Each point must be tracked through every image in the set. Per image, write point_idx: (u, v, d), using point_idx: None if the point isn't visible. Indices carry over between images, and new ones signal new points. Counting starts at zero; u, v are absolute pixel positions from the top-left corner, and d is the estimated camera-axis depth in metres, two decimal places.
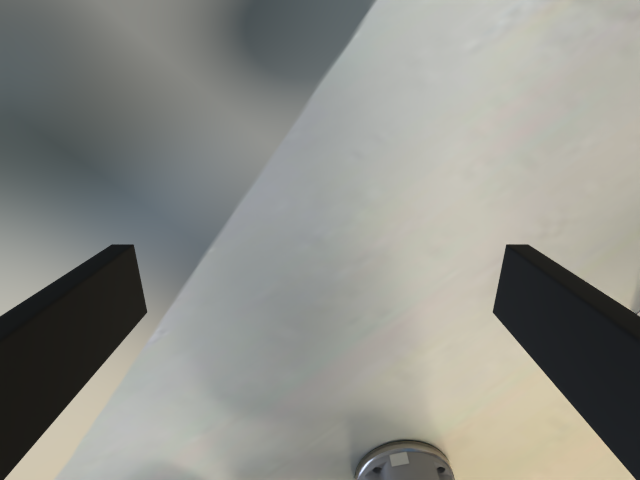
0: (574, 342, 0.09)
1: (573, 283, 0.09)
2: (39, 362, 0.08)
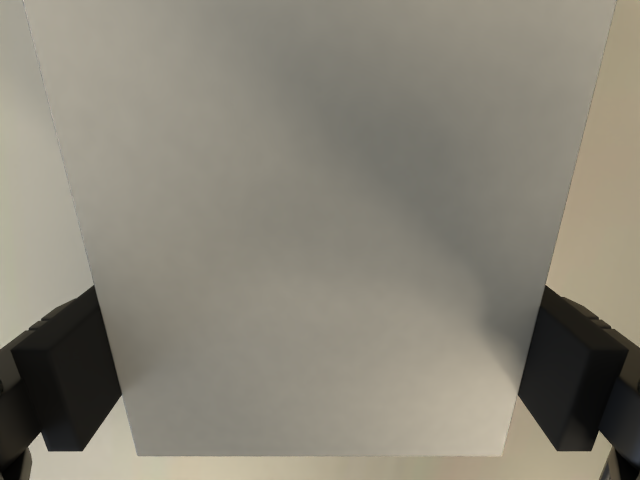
0: None
1: None
2: None
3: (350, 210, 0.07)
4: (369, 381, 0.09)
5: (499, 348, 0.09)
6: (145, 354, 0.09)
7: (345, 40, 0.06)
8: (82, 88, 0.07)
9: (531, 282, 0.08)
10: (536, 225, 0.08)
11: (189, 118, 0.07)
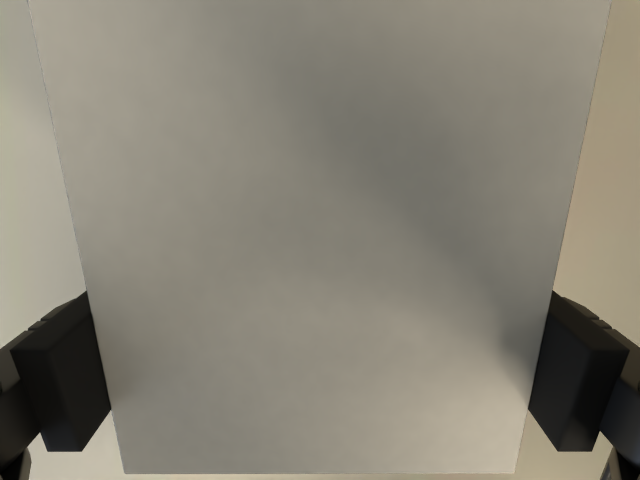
0: None
1: None
2: None
3: (351, 204, 0.07)
4: (371, 389, 0.09)
5: (508, 352, 0.08)
6: (136, 359, 0.08)
7: (345, 32, 0.06)
8: (81, 80, 0.07)
9: (539, 281, 0.08)
10: (542, 220, 0.07)
11: (188, 110, 0.07)
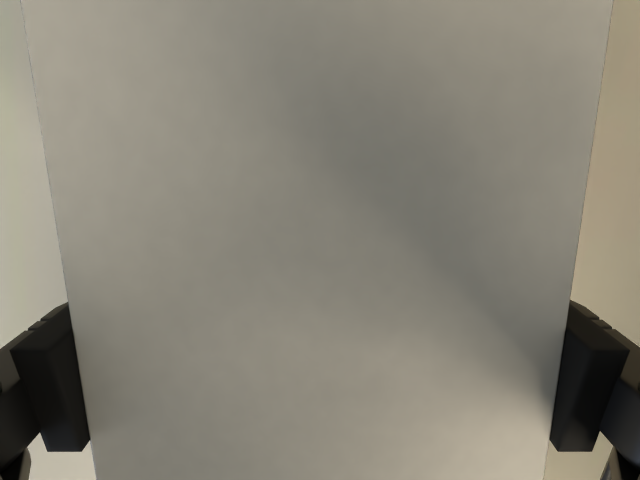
0: None
1: None
2: None
3: (352, 188, 0.07)
4: (377, 398, 0.08)
5: (527, 353, 0.07)
6: (116, 364, 0.07)
7: (344, 6, 0.06)
8: (69, 56, 0.06)
9: (557, 272, 0.07)
10: (557, 204, 0.07)
11: (180, 88, 0.06)
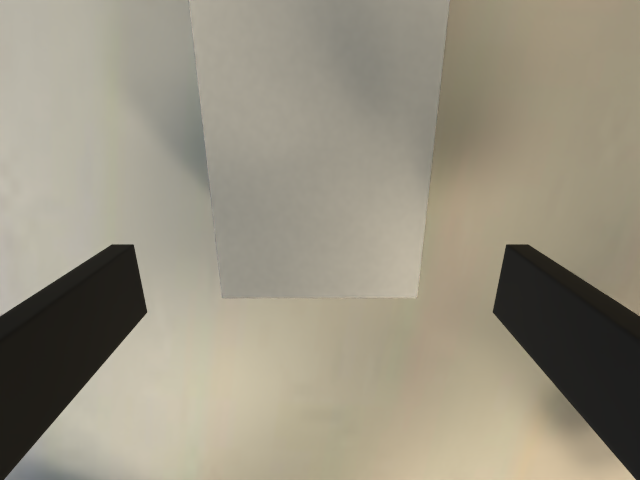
0: (574, 342, 0.09)
1: (573, 283, 0.09)
2: (39, 362, 0.08)
3: (333, 159, 0.16)
4: (344, 251, 0.18)
5: (409, 232, 0.17)
6: (232, 235, 0.17)
7: (330, 84, 0.15)
8: (216, 104, 0.15)
9: (421, 195, 0.17)
10: (420, 166, 0.16)
11: (262, 117, 0.15)
